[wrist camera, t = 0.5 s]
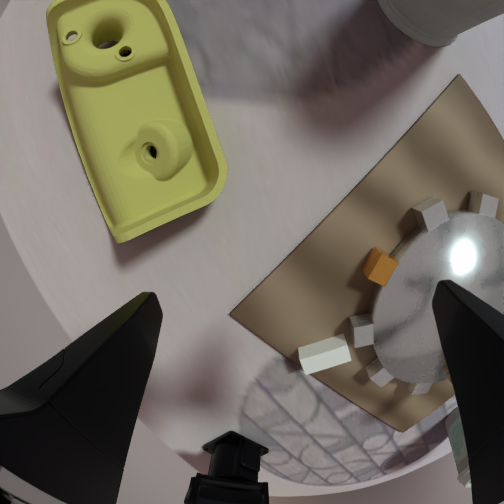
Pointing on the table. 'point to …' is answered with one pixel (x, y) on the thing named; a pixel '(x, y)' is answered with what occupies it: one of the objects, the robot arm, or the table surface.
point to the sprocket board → (386, 239)
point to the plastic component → (135, 111)
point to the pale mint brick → (324, 354)
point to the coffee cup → (458, 446)
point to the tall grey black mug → (439, 17)
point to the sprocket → (428, 288)
